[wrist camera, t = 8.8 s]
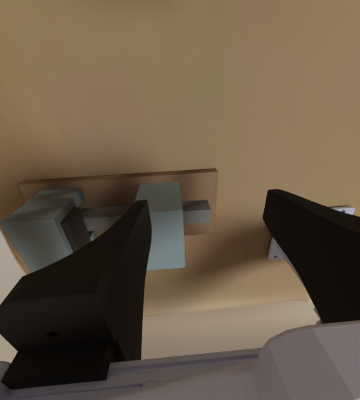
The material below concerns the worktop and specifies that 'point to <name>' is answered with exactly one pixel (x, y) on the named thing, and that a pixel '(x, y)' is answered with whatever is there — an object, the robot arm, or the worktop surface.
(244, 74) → the worktop surface
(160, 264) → the block
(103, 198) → the rail base
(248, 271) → the worktop surface
